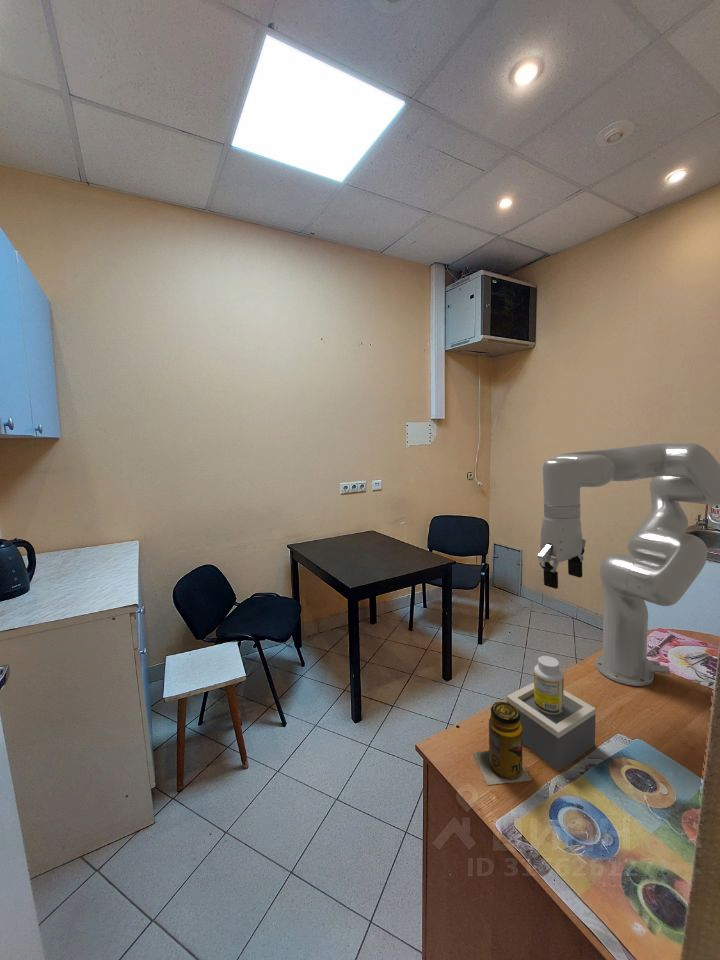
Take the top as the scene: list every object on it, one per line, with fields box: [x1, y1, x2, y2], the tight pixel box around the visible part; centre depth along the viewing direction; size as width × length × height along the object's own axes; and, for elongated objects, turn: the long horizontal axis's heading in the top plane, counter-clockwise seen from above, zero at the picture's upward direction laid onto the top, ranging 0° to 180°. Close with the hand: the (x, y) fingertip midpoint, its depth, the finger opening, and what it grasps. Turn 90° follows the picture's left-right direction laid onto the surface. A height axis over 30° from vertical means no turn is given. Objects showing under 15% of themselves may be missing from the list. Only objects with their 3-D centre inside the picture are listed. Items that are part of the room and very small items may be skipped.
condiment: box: [472, 701, 532, 786], centre depth 73 cm, size 7×8×12 cm
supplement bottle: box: [533, 655, 565, 715], centre depth 79 cm, size 6×6×10 cm
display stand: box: [506, 681, 597, 773], centre depth 80 cm, size 12×12×8 cm
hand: (563, 581), depth 91 cm, fingers open, 9 cm apart
